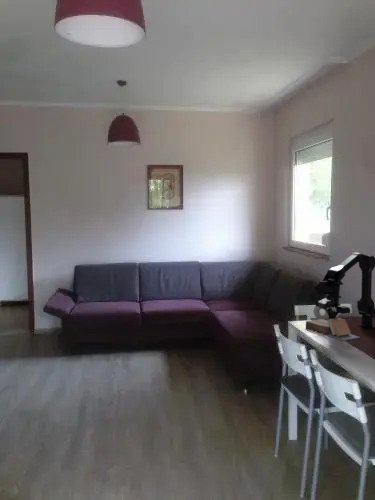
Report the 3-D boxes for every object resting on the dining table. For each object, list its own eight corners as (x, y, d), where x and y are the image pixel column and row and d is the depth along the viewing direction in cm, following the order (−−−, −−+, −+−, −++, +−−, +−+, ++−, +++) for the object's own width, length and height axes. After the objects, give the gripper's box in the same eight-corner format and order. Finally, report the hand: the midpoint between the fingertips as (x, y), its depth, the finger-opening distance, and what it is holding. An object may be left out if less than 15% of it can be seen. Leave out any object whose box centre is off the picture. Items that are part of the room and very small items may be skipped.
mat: (342, 332, 236) (342, 331, 236) (359, 338, 226) (359, 337, 226) (325, 335, 230) (325, 334, 230) (342, 340, 220) (342, 339, 220)
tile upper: (342, 320, 233) (344, 318, 231) (348, 335, 229) (351, 333, 228) (330, 322, 229) (333, 320, 228) (337, 336, 226) (339, 335, 224)
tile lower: (338, 318, 235) (341, 317, 234) (344, 333, 232) (346, 332, 231) (327, 320, 231) (329, 319, 230) (332, 335, 228) (335, 334, 227)
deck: (322, 326, 248) (322, 318, 248) (341, 332, 236) (342, 324, 236) (305, 328, 243) (306, 321, 242) (325, 335, 230) (325, 327, 230)
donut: (330, 320, 262) (331, 303, 261) (330, 321, 259) (331, 304, 258) (313, 318, 265) (313, 301, 264) (312, 320, 262) (313, 303, 261)
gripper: (309, 290, 237) (307, 319, 239) (336, 298, 221) (333, 329, 222) (324, 289, 242) (322, 318, 244) (352, 296, 226) (349, 327, 228)
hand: (331, 323), depth 234 cm, fingers closed
